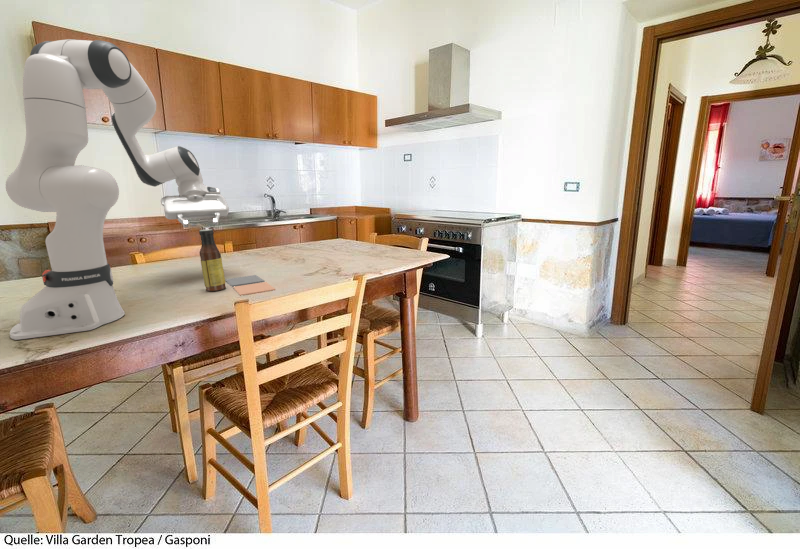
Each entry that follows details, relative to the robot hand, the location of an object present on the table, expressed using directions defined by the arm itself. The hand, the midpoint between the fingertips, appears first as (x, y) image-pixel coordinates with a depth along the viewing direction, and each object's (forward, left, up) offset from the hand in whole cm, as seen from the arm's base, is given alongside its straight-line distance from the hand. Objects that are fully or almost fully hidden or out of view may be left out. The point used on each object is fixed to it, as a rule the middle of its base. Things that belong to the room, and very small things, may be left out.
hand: (201, 225), depth 134 cm
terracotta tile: (+11, -20, -21) cm, 31 cm away
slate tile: (+11, -7, -21) cm, 24 cm away
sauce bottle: (0, -12, -20) cm, 24 cm away
